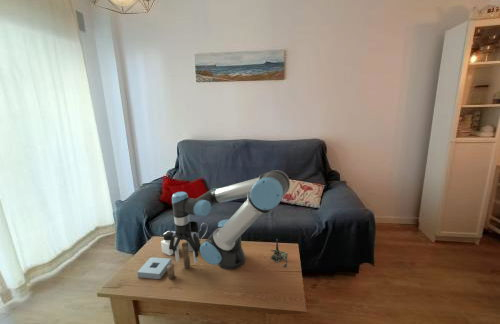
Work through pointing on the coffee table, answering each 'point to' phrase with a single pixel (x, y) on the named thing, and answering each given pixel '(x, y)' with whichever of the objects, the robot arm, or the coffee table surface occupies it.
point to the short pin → (170, 271)
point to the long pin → (186, 255)
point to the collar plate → (152, 272)
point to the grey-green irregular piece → (279, 255)
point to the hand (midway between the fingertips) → (186, 261)
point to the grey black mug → (195, 229)
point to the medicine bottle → (167, 243)
